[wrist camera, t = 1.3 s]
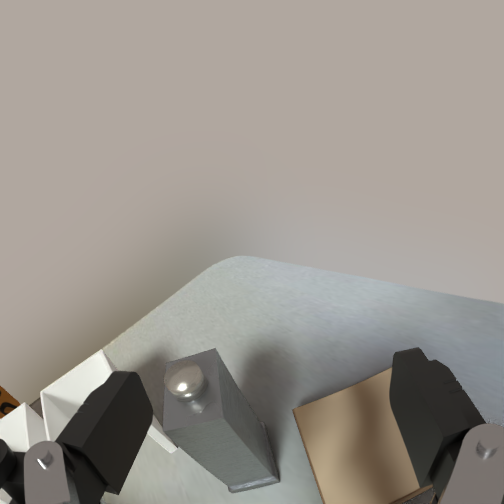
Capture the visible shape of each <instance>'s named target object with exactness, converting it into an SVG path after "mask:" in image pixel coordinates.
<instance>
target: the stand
mask: <svg viewBox="0 0 504 504" xmlns="http://www.w3.org/2000/svg"><path fill="white" fill-rule="evenodd" d="M391 373H392V367H391V368H389V369H387V370H385V371H383V372H381V373H379V374H377V375H375V376H373V377H370V378H368V379H366V380H364V381H362V382H360V383H357V384H355V385H353V386H350V387H348V388H346V389H343V390H341V391H339V392H336V393H334V394H331V395H329V396H326V397H324V398H321V399H319V400H316V401H313V402H311V403H308V404H305V405H303V406H300V407H297V408H294V409H293V410H292V411H293V414H294V417H295V420H296V423H297V426H298V429H299V432H300V435H301V438H302V441H303V444H304V447H305V451H306V454H307V457H308V460H309V463H310V466H311V469H312V472H313V475H314V478H315V481H316V484H317V487H318V490H319V493H320V496H321V498H322V501H323V504H402V503H404V502H406V501H408V500H410V499H412V498H413V497H415V496H417V495H419V494H421V493H423V492H425V491H426V490H428V489H430V488H432V487H433V484H432V485H429V486H426V487H423V488H420V487H419V484H418V481H417V478H416V475H415V472H414V469H413V466H412V463H411V460H410V457H409V455H408V452H407V449H406V446H405V444H404V441H403V438H402V436H401V433H400V430H399V428H398V425H397V422H396V420H395V417H394V415H393V412H392V409H391V406H390V400H389V388H390V381H391Z"/></svg>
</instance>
